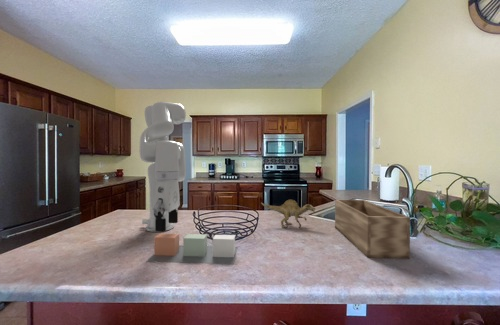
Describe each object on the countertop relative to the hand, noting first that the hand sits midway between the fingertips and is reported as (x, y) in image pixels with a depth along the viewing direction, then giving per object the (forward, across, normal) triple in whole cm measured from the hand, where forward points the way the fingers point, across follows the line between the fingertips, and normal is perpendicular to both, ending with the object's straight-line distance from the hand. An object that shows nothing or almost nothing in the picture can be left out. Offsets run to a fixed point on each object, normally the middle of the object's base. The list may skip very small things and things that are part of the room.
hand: (167, 226), depth 74 cm
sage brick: (+10, +1, -10) cm, 13 cm away
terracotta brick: (+9, +1, 0) cm, 9 cm away
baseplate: (+10, +1, -10) cm, 14 cm away
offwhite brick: (+10, +1, -20) cm, 22 cm away
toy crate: (+11, +19, -76) cm, 79 cm away
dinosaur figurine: (+10, +37, -46) cm, 60 cm away
